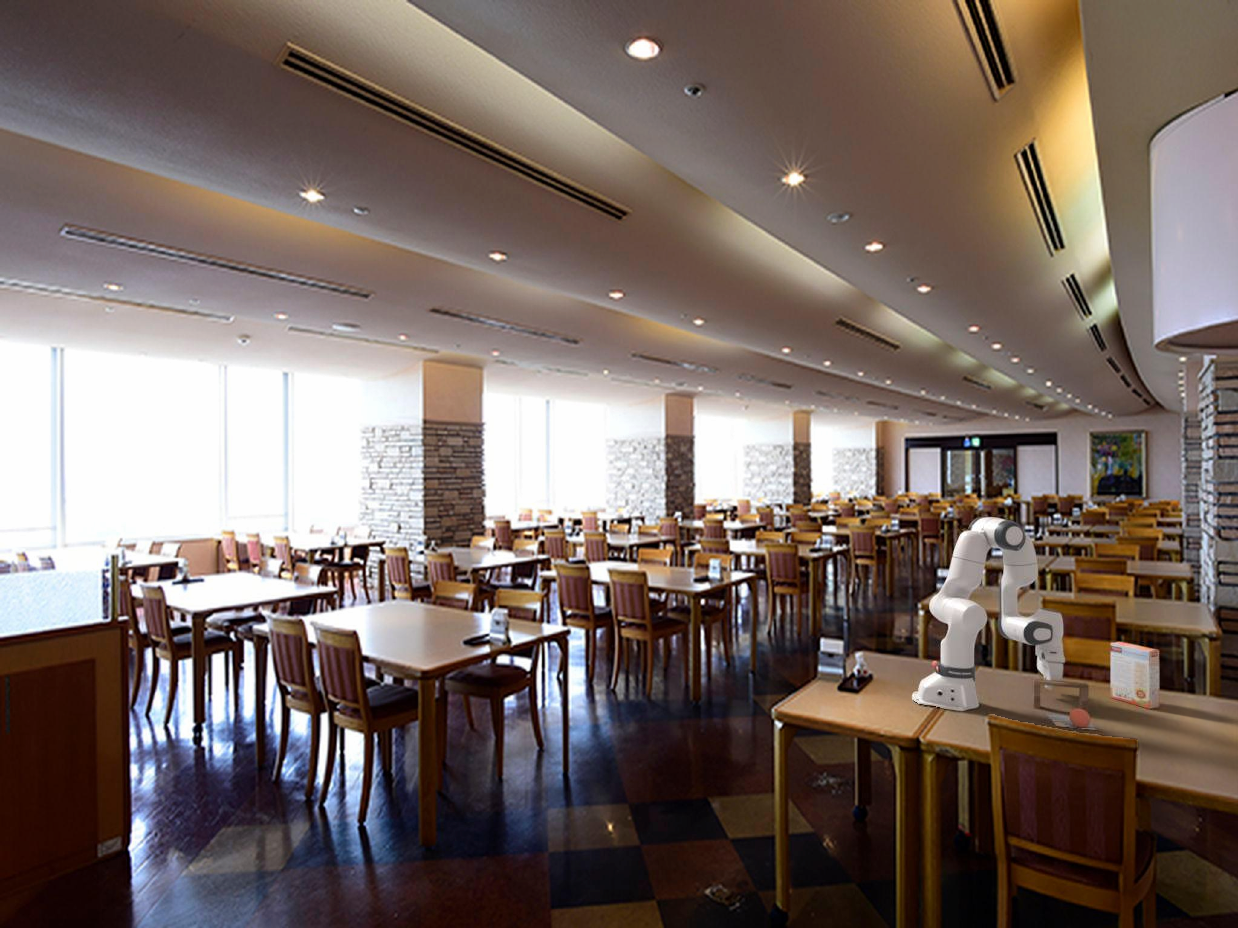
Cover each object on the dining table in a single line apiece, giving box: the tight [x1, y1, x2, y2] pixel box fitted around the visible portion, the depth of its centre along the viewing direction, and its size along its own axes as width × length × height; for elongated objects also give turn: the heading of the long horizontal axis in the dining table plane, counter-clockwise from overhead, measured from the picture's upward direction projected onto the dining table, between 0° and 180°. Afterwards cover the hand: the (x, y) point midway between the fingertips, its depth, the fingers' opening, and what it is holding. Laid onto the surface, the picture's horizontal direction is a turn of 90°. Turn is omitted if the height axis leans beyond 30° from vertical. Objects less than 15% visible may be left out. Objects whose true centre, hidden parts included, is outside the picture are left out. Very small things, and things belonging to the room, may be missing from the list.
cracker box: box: [1110, 641, 1160, 710], centre depth 262 cm, size 14×6×21 cm, turn 22°
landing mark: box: [1046, 713, 1098, 731], centre depth 242 cm, size 12×12×1 cm
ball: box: [1068, 708, 1091, 728], centre depth 238 cm, size 6×6×6 cm
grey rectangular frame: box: [1031, 678, 1090, 714], centre depth 256 cm, size 3×17×10 cm, turn 72°
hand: (1048, 688), depth 268 cm, fingers closed
